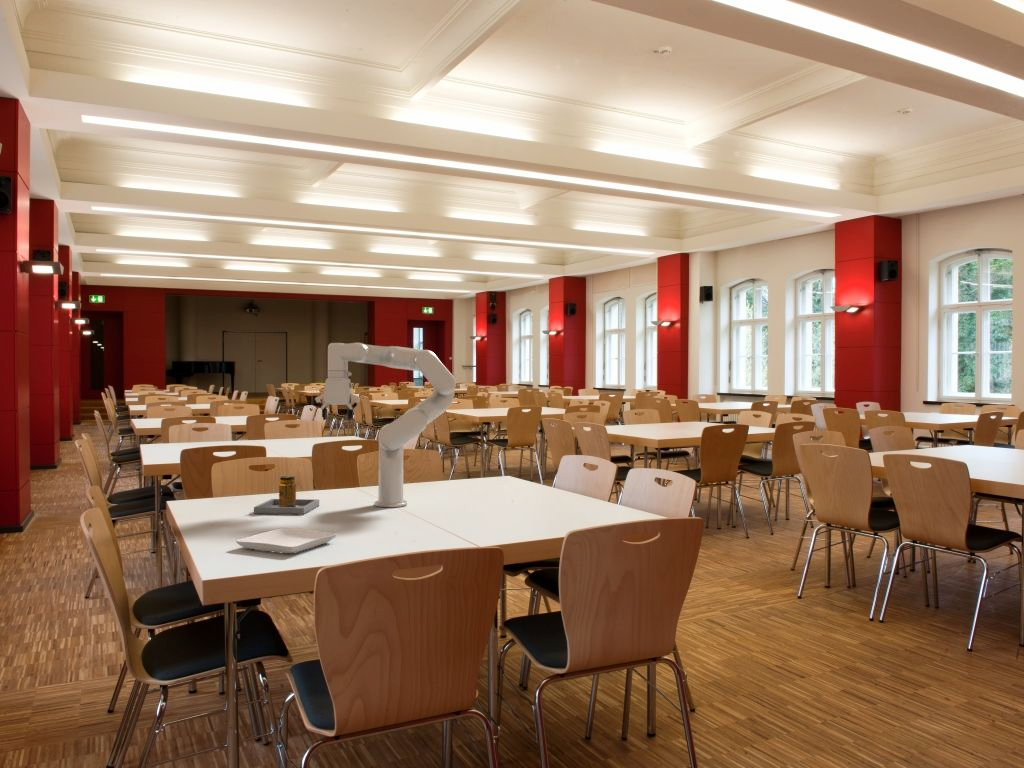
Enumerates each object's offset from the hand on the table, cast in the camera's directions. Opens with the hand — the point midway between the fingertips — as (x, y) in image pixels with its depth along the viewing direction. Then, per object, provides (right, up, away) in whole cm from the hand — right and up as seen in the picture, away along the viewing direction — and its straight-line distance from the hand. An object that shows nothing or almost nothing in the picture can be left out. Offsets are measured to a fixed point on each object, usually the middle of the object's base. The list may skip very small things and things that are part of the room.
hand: (337, 419), depth 295 cm
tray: (-17, -33, -9) cm, 38 cm away
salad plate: (0, -35, -68) cm, 76 cm away
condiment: (-16, -33, -8) cm, 38 cm away
